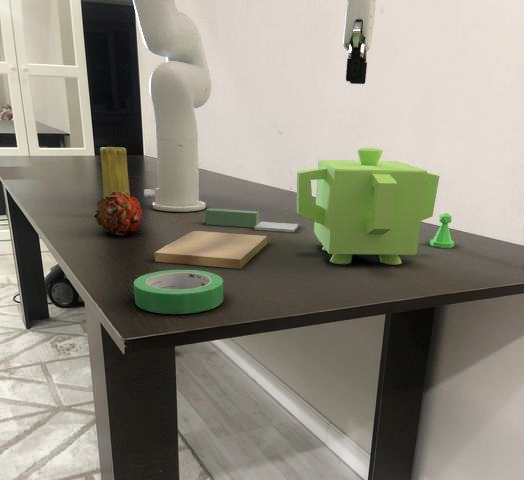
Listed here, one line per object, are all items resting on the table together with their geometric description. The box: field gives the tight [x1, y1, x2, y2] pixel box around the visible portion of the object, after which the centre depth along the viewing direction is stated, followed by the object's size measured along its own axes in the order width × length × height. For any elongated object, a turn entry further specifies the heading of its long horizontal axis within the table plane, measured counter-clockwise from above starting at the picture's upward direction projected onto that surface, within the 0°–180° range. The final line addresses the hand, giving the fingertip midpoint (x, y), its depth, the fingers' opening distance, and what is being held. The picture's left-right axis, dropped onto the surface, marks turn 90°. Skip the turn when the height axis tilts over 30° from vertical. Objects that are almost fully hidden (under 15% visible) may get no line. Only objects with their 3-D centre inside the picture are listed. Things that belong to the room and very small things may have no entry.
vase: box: [99, 146, 131, 199], centre depth 120 cm, size 6×6×14 cm
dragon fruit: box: [94, 191, 143, 236], centre depth 107 cm, size 8×8×12 cm
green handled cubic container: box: [296, 147, 440, 265], centre depth 92 cm, size 25×23×17 cm
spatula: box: [204, 207, 299, 233], centre depth 116 cm, size 19×6×3 cm, turn 76°
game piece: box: [429, 212, 455, 249], centre depth 103 cm, size 4×4×6 cm
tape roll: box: [133, 269, 224, 315], centre depth 71 cm, size 11×11×3 cm
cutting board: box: [154, 230, 268, 270], centre depth 95 cm, size 14×18×2 cm
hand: (355, 82), depth 114 cm, fingers open, 9 cm apart
